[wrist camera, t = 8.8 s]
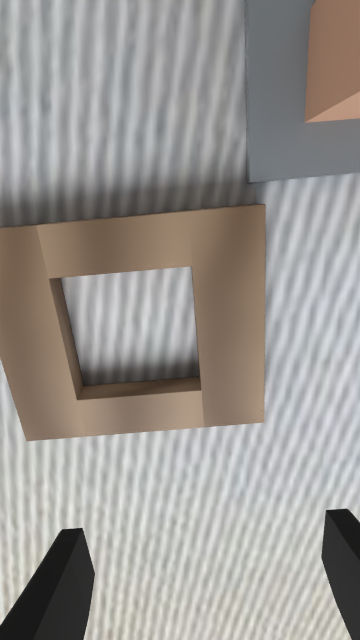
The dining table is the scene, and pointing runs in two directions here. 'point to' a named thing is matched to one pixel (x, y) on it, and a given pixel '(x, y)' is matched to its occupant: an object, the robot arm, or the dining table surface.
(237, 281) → the pocket board
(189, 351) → the dining table surface
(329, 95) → the block
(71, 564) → the robot arm
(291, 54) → the coaster
